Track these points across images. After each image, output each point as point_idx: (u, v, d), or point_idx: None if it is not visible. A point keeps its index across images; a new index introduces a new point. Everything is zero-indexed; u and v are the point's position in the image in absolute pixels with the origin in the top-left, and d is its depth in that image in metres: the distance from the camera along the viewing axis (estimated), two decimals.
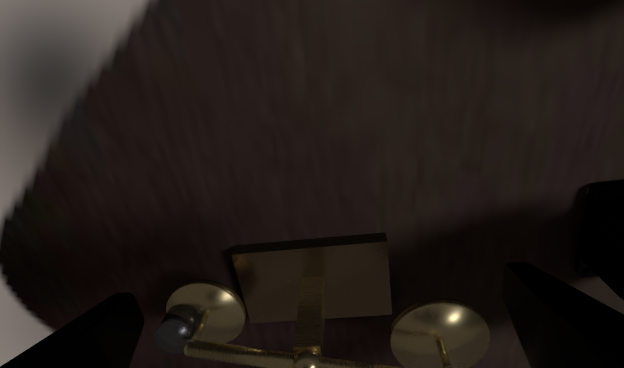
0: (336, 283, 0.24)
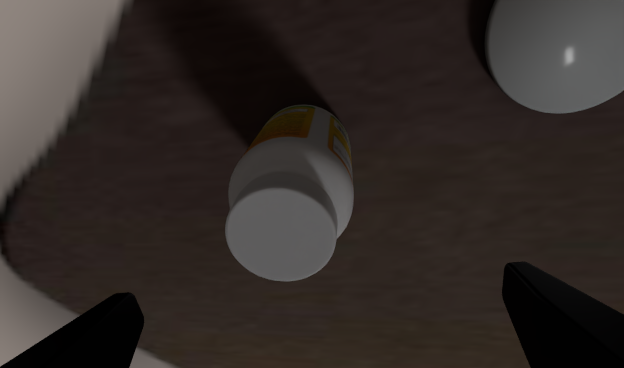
0: None
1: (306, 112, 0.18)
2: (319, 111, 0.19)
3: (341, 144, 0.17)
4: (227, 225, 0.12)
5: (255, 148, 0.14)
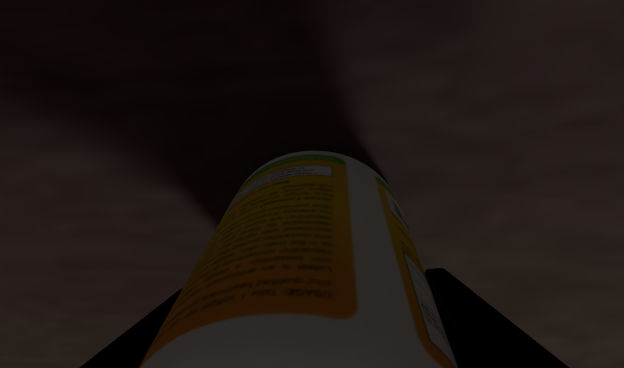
0: None
1: (331, 178, 0.08)
2: (355, 171, 0.09)
3: (421, 275, 0.07)
4: None
5: (188, 355, 0.04)
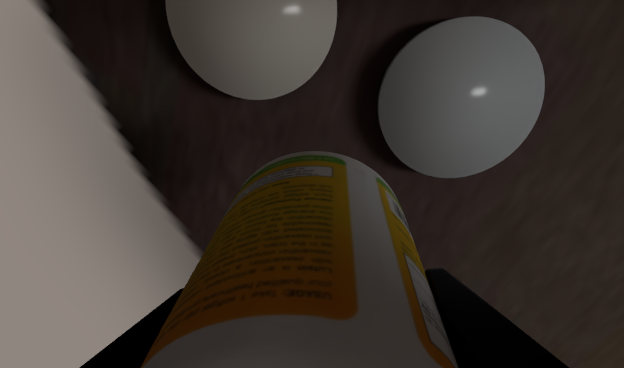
0: None
1: (331, 179, 0.08)
2: (355, 172, 0.09)
3: (421, 276, 0.07)
4: None
5: (188, 357, 0.04)
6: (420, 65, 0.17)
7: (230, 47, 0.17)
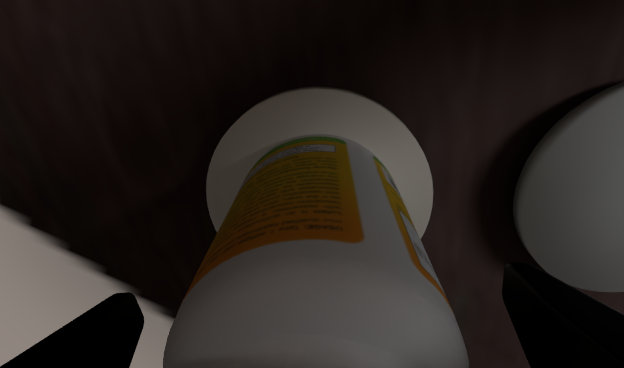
0: None
1: (334, 154, 0.09)
2: (355, 150, 0.10)
3: (413, 229, 0.08)
4: None
5: (233, 271, 0.05)
6: (570, 175, 0.12)
7: None
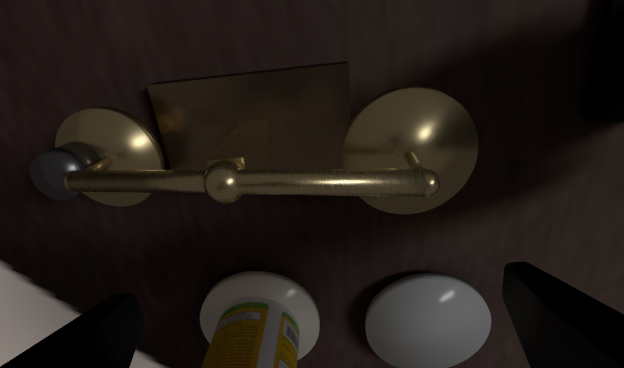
0: (284, 130, 0.18)
1: (259, 322, 0.21)
2: (271, 313, 0.21)
3: (285, 366, 0.19)
4: None
5: None
6: (386, 317, 0.23)
7: None
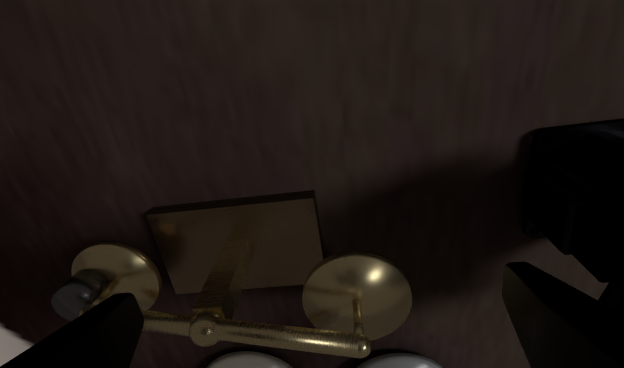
0: (263, 247, 0.21)
1: None
2: None
3: None
4: None
5: None
6: None
7: None
